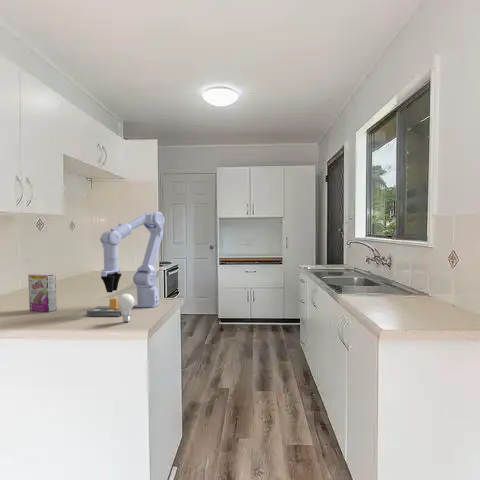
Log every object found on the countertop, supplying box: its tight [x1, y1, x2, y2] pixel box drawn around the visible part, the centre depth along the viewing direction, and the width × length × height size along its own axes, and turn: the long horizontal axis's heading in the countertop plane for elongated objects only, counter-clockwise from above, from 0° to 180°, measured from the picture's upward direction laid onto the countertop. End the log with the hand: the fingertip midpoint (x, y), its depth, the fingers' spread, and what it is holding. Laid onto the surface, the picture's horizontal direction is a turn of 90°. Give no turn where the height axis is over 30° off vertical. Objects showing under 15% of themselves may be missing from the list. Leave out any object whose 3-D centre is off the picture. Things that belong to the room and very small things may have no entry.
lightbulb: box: [117, 293, 135, 323], centre depth 149 cm, size 6×6×11 cm
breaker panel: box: [86, 305, 123, 317], centre depth 166 cm, size 15×10×2 cm, turn 83°
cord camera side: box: [90, 313, 121, 318], centre depth 160 cm, size 13×1×1 cm, turn 83°
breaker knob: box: [109, 296, 120, 309], centre depth 165 cm, size 3×4×4 cm
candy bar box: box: [27, 273, 57, 313], centre depth 174 cm, size 11×5×16 cm, turn 71°
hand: (111, 291), depth 165 cm, fingers open, 4 cm apart
